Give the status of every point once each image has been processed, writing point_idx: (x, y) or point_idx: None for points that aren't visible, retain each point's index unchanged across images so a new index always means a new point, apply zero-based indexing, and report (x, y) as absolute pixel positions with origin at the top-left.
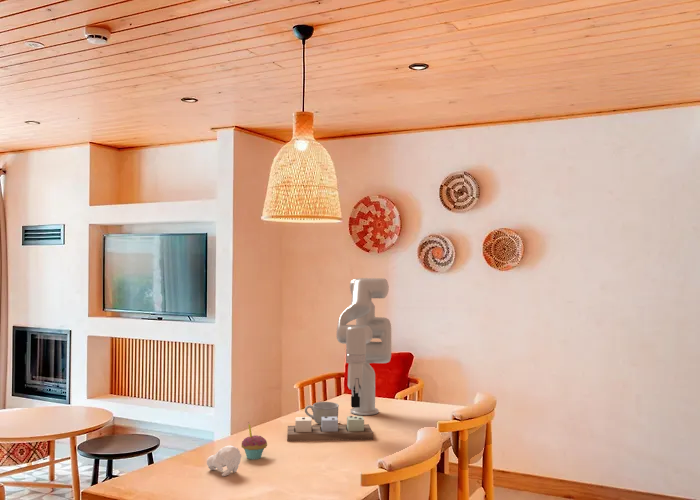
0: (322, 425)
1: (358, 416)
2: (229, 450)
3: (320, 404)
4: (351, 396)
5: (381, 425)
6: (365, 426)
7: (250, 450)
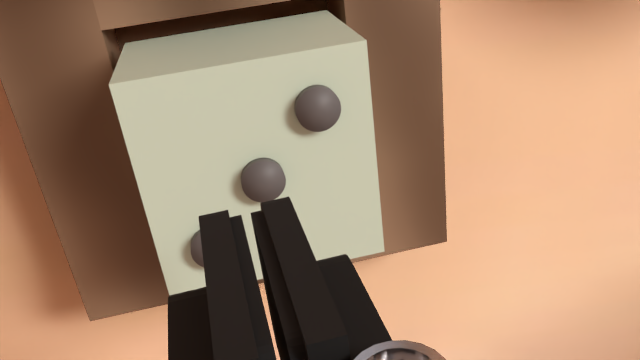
0: None
1: (362, 206)
2: None
3: None
4: (305, 349)
5: (592, 288)
6: None
7: None
